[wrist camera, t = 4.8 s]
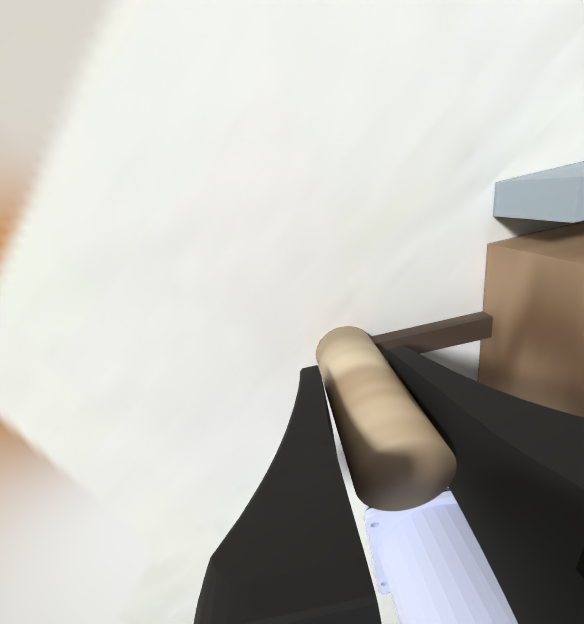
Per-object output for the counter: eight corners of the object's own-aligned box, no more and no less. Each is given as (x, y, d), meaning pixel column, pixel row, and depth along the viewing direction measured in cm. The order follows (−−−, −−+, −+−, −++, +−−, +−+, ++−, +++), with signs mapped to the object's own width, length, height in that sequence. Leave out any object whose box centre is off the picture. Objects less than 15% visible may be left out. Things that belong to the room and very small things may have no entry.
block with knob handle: (617, 352, 14) (855, 459, 8) (328, 416, 14) (368, 564, 8) (662, 203, 11) (1071, 210, 5) (301, 286, 11) (333, 376, 5)
